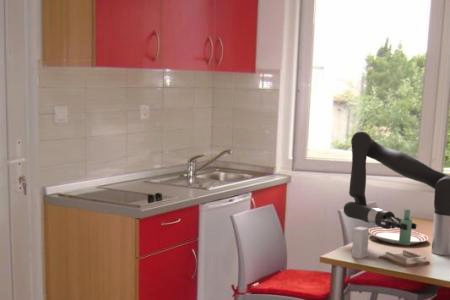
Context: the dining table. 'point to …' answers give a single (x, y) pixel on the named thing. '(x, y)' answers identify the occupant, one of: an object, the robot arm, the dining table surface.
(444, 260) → the dining table surface
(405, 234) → the green bottle
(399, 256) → the bottle holder
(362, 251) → the skincare box
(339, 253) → the dining table surface
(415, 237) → the dinner plate
